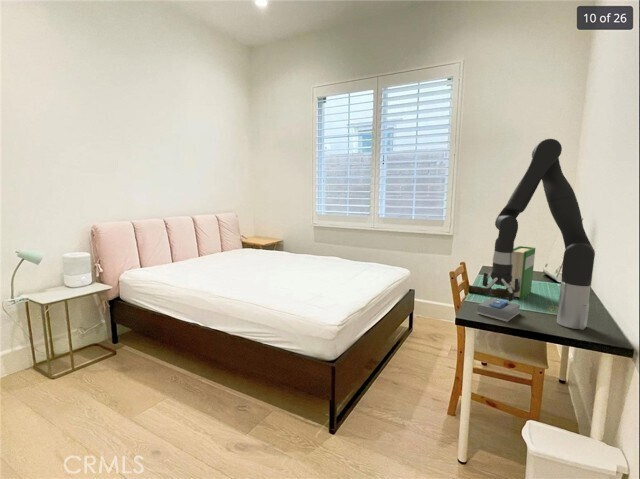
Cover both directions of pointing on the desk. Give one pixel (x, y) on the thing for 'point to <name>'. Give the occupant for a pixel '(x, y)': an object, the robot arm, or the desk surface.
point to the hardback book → (523, 269)
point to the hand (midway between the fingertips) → (499, 298)
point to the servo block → (499, 303)
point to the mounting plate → (498, 310)
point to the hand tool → (496, 292)
